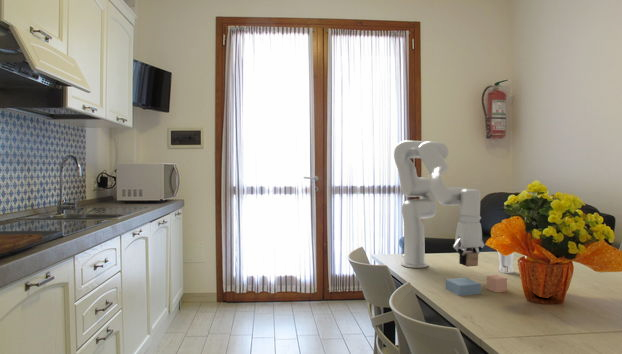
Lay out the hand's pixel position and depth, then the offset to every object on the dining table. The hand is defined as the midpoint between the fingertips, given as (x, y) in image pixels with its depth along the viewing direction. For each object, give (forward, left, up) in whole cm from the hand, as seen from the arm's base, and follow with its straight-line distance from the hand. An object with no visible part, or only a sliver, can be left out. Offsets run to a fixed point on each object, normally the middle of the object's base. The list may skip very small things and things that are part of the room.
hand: (468, 263), depth 164 cm
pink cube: (+13, +2, -8) cm, 15 cm away
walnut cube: (0, 0, -1) cm, 1 cm away
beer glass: (-7, +26, -8) cm, 28 cm away
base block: (+10, -11, -8) cm, 17 cm away
